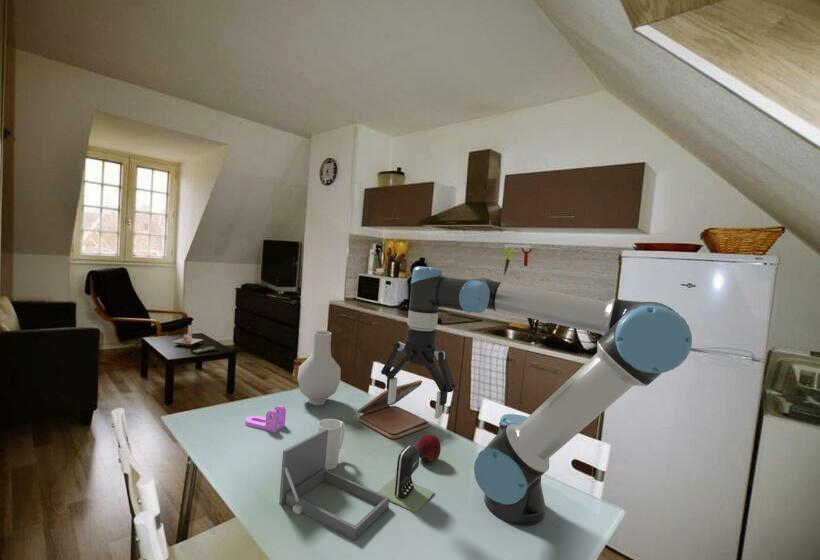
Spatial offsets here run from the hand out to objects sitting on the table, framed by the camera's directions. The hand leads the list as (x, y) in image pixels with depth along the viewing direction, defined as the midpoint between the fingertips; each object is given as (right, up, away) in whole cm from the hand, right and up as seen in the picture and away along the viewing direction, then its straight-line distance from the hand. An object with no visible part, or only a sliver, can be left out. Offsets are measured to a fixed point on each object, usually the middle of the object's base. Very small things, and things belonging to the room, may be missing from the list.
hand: (414, 409), depth 101 cm
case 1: (-19, -21, -6) cm, 29 cm away
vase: (-38, -16, +56) cm, 70 cm away
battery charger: (-2, -22, +2) cm, 22 cm away
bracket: (-51, -16, +32) cm, 62 cm away
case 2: (-7, -20, +44) cm, 49 cm away
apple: (+4, -22, +20) cm, 30 cm away
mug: (-24, -20, +13) cm, 34 cm away
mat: (-2, -22, +1) cm, 23 cm away
